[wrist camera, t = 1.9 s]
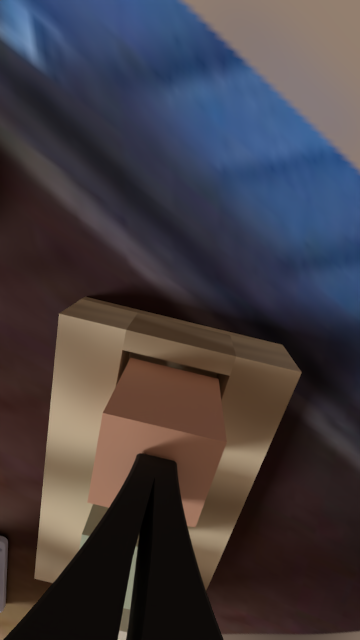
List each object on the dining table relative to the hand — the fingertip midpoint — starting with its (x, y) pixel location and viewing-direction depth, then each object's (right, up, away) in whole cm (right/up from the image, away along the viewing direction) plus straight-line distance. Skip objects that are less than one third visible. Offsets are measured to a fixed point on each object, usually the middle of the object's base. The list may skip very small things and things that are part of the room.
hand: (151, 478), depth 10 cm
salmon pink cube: (0, +1, +4) cm, 4 cm away
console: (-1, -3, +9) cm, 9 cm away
